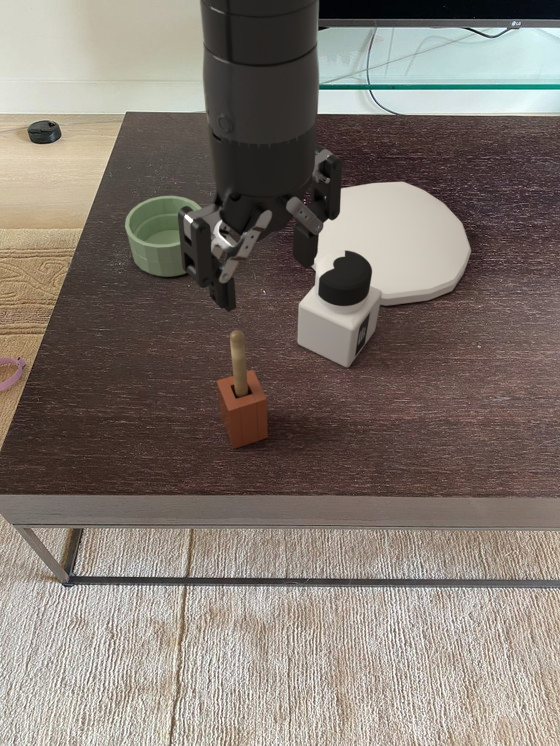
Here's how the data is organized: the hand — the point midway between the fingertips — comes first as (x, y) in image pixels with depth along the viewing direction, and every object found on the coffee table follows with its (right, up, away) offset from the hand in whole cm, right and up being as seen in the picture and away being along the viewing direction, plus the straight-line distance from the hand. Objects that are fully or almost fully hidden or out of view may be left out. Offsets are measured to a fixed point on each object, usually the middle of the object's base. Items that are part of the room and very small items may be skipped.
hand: (265, 283), depth 54 cm
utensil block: (-3, -15, +19) cm, 24 cm away
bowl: (-15, +10, +38) cm, 42 cm away
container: (+9, -3, +28) cm, 29 cm away
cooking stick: (-3, -15, +19) cm, 24 cm away
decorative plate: (+17, +11, +39) cm, 44 cm away
